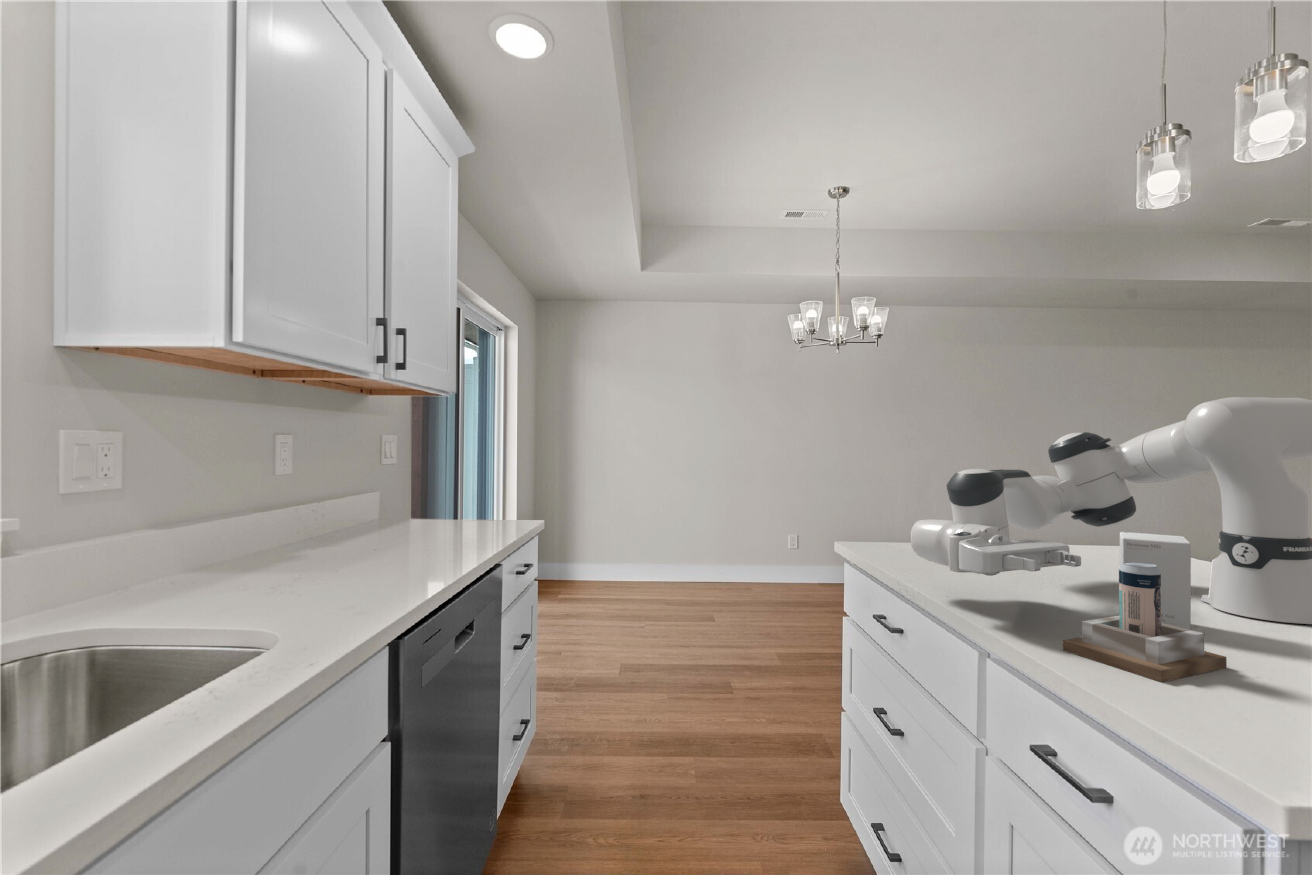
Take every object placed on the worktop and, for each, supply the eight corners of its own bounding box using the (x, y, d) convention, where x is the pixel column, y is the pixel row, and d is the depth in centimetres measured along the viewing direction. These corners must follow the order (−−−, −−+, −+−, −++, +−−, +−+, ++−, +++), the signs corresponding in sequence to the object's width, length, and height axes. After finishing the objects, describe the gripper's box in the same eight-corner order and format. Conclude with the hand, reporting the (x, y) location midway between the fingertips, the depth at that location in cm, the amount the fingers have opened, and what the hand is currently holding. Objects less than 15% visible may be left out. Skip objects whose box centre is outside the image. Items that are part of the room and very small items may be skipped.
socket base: (1125, 639, 96) (1124, 610, 96) (1226, 667, 84) (1226, 634, 84) (1062, 650, 91) (1062, 619, 91) (1161, 682, 79) (1161, 647, 79)
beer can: (1169, 654, 85) (1169, 567, 85) (1131, 652, 86) (1131, 566, 86) (1148, 643, 90) (1147, 561, 90) (1112, 641, 91) (1111, 560, 91)
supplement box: (1121, 626, 103) (1120, 537, 103) (1118, 613, 110) (1118, 530, 111) (1192, 636, 98) (1191, 542, 98) (1184, 622, 105) (1184, 535, 105)
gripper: (1025, 562, 116) (1101, 577, 103) (942, 571, 108) (1013, 588, 95) (1025, 529, 116) (1101, 540, 103) (942, 535, 108) (1012, 548, 95)
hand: (1058, 563), depth 99 cm, fingers open, 8 cm apart
